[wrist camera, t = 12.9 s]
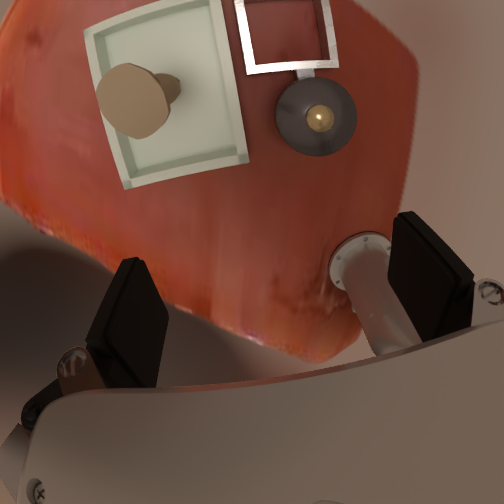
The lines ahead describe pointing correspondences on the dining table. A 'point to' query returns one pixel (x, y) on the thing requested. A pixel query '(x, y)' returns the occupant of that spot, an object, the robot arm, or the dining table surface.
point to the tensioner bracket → (307, 91)
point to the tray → (191, 85)
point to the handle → (136, 99)
